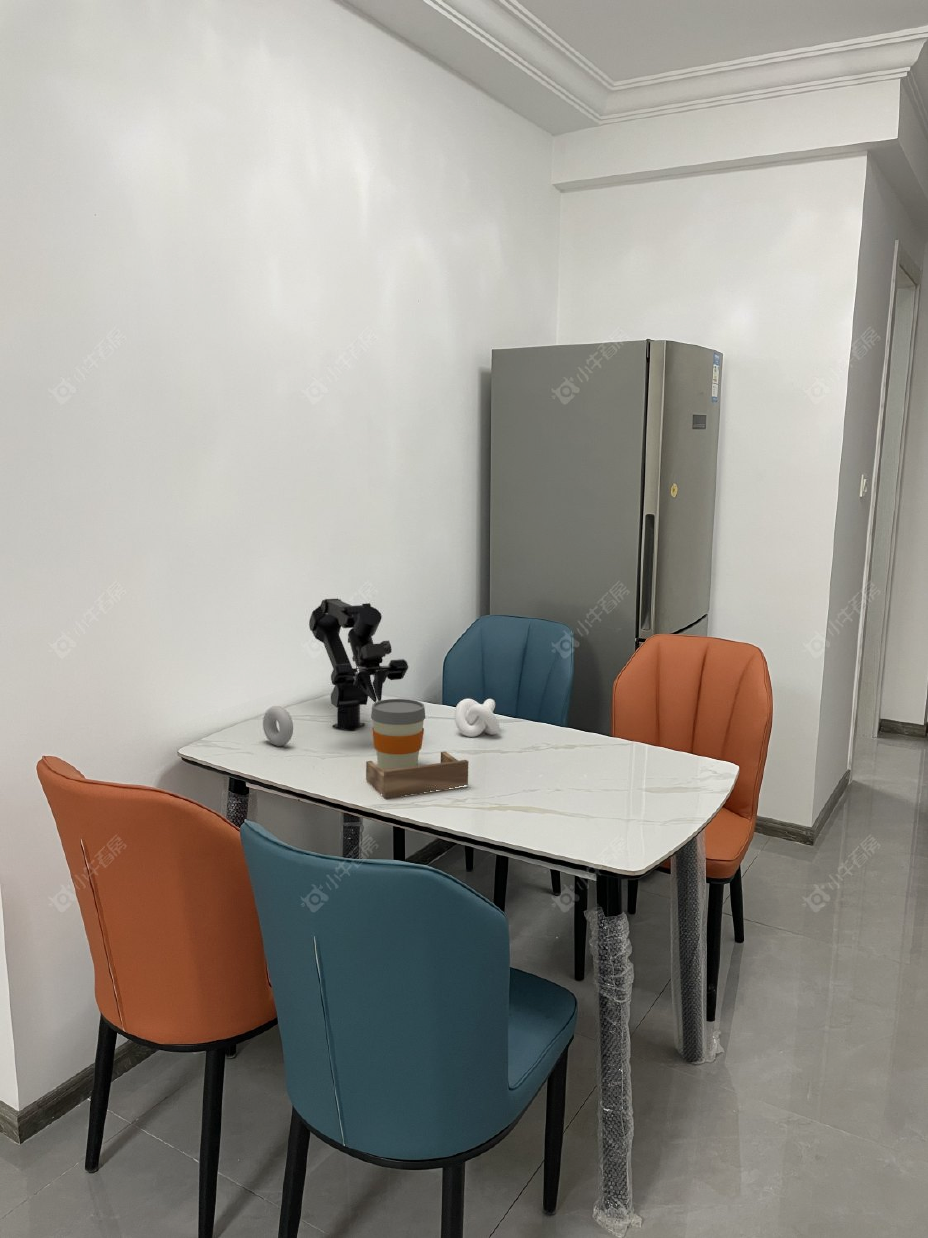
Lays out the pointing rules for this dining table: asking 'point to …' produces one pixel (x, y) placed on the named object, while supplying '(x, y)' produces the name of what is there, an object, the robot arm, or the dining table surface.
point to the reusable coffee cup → (397, 732)
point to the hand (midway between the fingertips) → (377, 701)
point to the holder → (418, 777)
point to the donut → (284, 725)
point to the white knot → (476, 717)
